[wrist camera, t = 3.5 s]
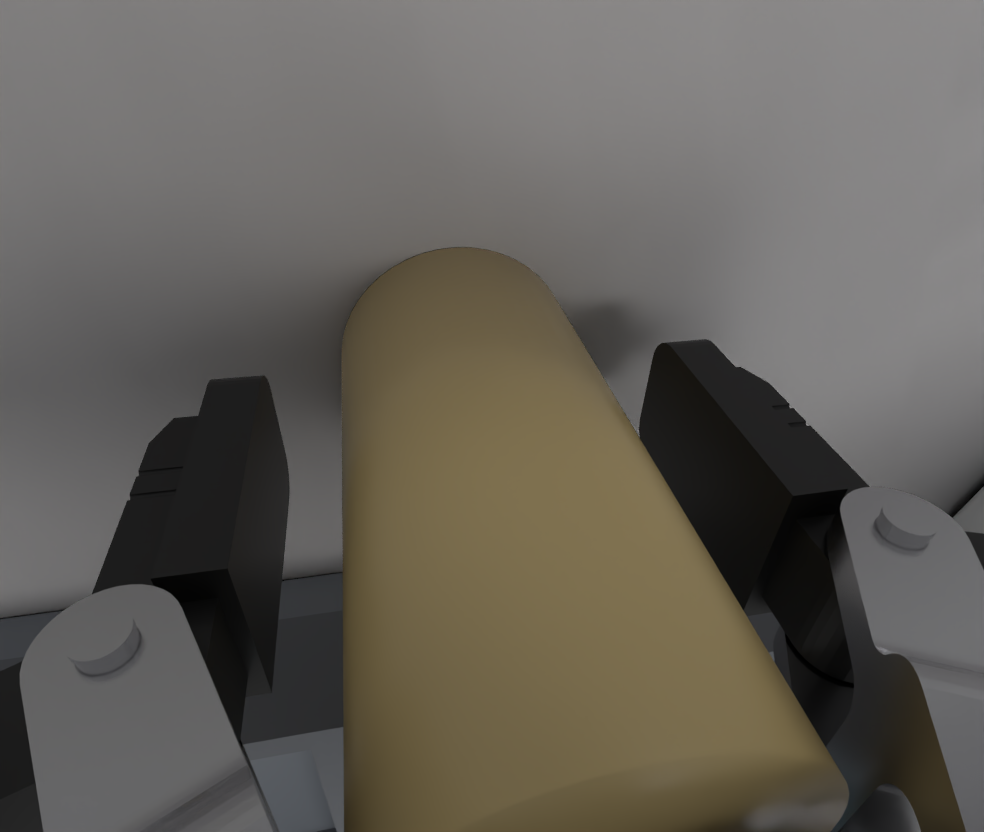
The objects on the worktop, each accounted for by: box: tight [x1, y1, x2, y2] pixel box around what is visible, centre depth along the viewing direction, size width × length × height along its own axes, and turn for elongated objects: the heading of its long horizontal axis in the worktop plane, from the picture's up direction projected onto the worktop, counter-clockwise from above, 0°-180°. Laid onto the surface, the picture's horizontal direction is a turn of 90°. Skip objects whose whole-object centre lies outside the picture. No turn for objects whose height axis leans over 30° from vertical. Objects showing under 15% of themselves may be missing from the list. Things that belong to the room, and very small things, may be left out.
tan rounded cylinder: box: [342, 248, 849, 832], centre depth 8 cm, size 4×4×8 cm
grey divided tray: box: [0, 573, 780, 832], centre depth 16 cm, size 22×11×4 cm, turn 89°
